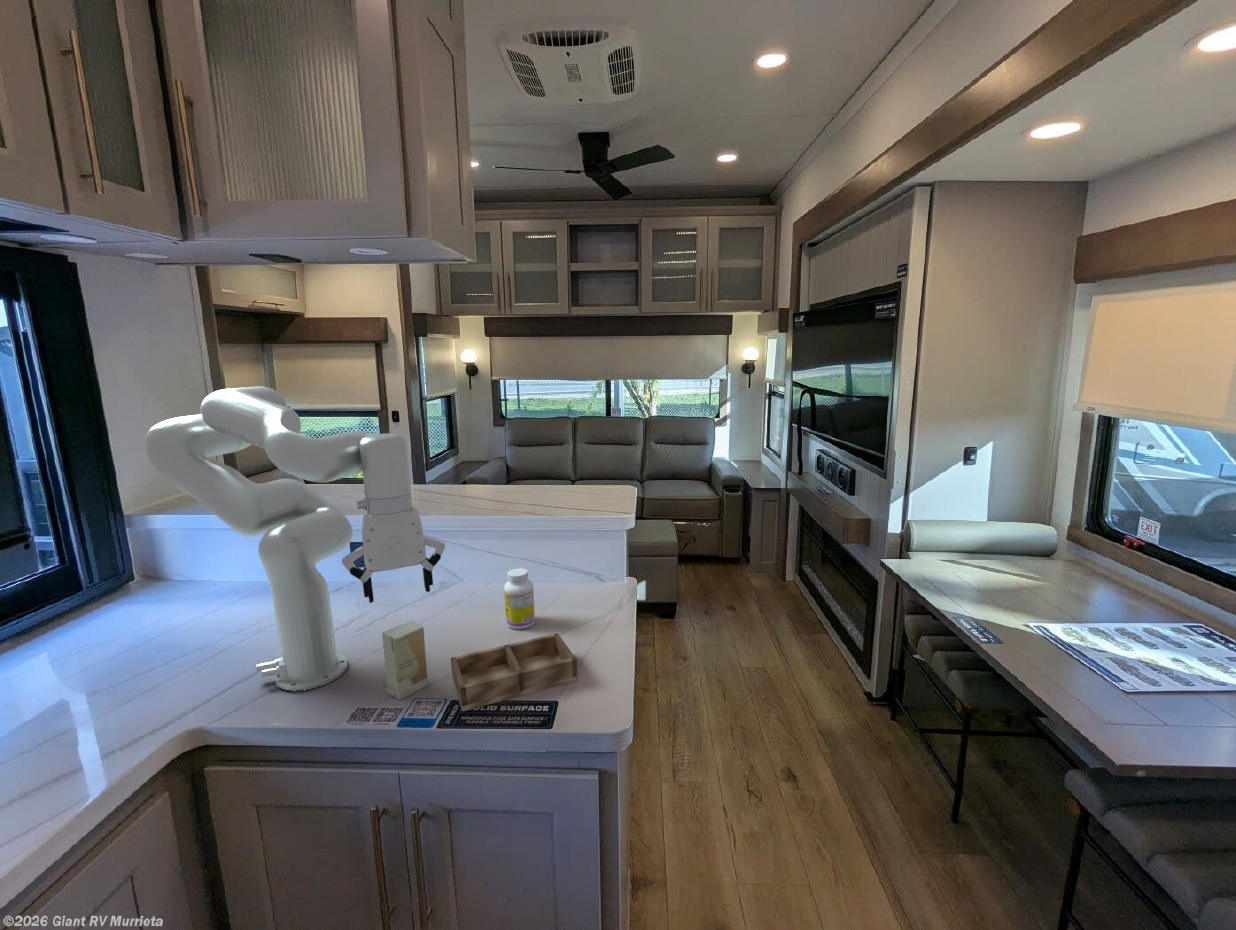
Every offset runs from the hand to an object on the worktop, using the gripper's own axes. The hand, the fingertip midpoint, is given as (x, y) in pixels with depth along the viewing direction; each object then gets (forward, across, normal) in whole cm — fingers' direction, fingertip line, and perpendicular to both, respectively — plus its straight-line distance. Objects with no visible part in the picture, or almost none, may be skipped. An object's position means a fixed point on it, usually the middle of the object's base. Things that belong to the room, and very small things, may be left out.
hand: (399, 594), depth 104 cm
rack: (+19, +19, -6) cm, 27 cm away
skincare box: (+19, 0, 0) cm, 19 cm away
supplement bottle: (+20, +26, +16) cm, 36 cm away
